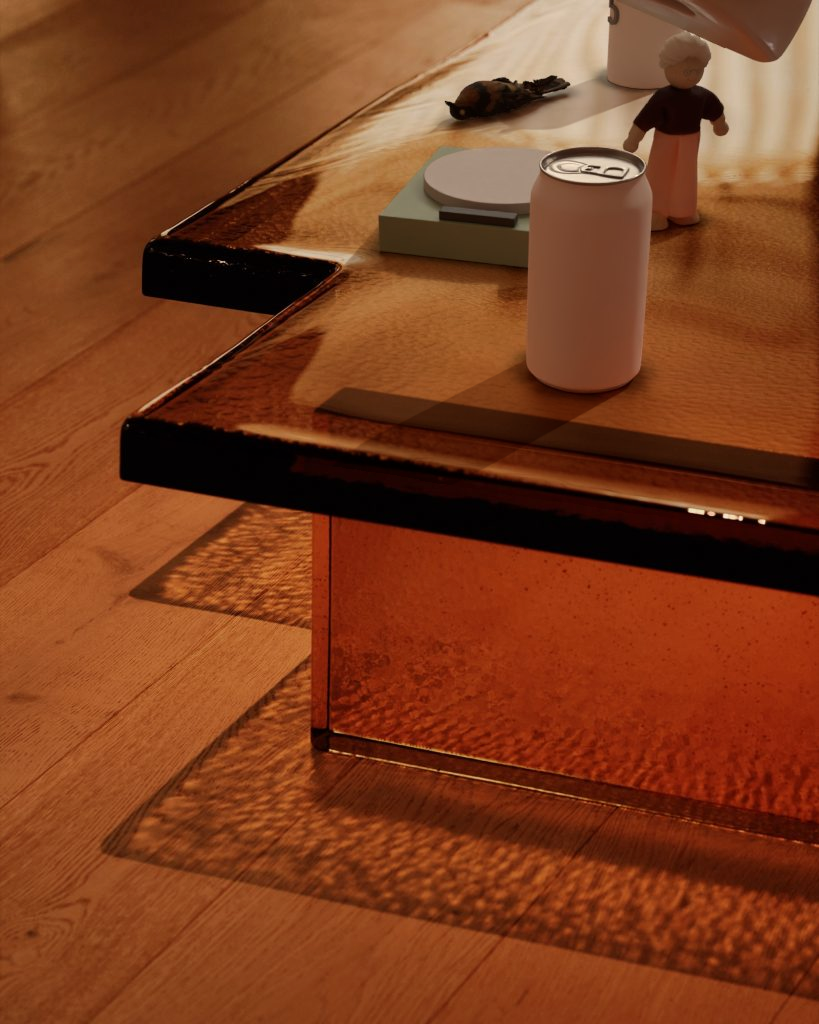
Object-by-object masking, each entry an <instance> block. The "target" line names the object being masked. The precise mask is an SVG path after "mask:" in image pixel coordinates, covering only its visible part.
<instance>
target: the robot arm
mask: <svg viewBox="0 0 819 1024" xmlns="http://www.w3.org/2000/svg"><path fill="white" fill-rule="evenodd" d="M615 1H618V2H620V3H622V4H625V5H627V6H629V7H632V8H634V9H636V10H639V11H641V12H643V13H646V14H648V15H650V16H653V17H655V18H657V19H660V20H662V21H664V22H667V23H669V24H671V25H674V26H676V27H678V28H680V29H683V30H685V31H687V32H689V33H690V34H691V35H697V36H698V37H700V39H702V40H704V41H706V42H707V41H708V42H710V43H711V44H713V45H716V46H718V47H721V48H723V49H727V50H729V51H732V52H734V53H736V54H739V55H741V56H743V57H745V58H748V59H750V60H752V61H755V62H758V63H773V62H775V61H778V60H779V59H780V58H781V57H782V56H783V55H784V54H785V52H786V51H787V49H788V48H789V46H790V45H791V43H792V41H793V39H794V38H795V36H796V34H797V32H798V31H799V30H800V27H801V25H802V24H803V21H804V19H805V18H806V16H807V13H808V11H809V9H810V7H811V4H812V1H813V0H615Z"/></svg>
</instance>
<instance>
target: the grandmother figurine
mask: <svg viewBox="0 0 819 1024" xmlns="http://www.w3.org/2000/svg"><path fill="white" fill-rule="evenodd" d="M659 57H660V62H659V66H660V67H661V68H662V69H664V73H665V77H666V79H667V80H668V82H669V83H670V85H668V86H665V87H663V88H657V90H655V91H654V93H653V94H652V95H651V96H650V97H649V99H648V100H647V101H646V103H645V104H644V106H643V107H642V108H641V110H640V111H639V113H637V115H636V116H635V118H634V119H633V121H632V125H631V127H630V129H629V131H628V135H627V138H626V139H624V141H623V143H622V150H624V151H627V152H630V153H633V154H635V153H636V152H637V151H638V149H639V147H640V142H642V141H643V139H644V138H645V136H646V134H647V133H648V132H649V131H651V130H652V129H654V131H653V135H652V136H653V139H652V143H651V147H650V151H649V154H648V160H647V163H646V165H647V169H646V172H645V175H646V178H647V180H648V183H649V185H650V188H651V191H652V218H651V231H652V232H653V231H654V232H655V231H663V230H666V229H667V228H668V227H669V221H668V220H670V221H671V222H672V223H674V224H676V225H679V226H680V225H682V226H688V225H695V224H697V223H699V222H700V220H701V219H700V215H699V212H697V211H698V207H697V206H698V184H699V183H698V182H699V181H698V176H699V175H698V174H699V173H698V158H699V157H698V156H699V149H700V143H701V136H702V135H701V123H702V120H706V121H708V122H709V123H710V125H712V131H713V133H714V135H715V136H717V137H724V136H726V135H727V134H728V133H729V130H730V126H729V124H728V122H727V121H726V115H725V106H724V103H722V101H721V100H720V98H719V97H718V96H717V95H716V94H715V93H714V92H712V90H710V89H708V88H705V87H703V86H702V85H697V84H699V83H700V82H701V80H702V79H703V76H704V74H705V73H704V72H705V68H707V66H708V65H709V63H710V61H711V59H712V52H711V49H710V47H709V44H708V43H707V40H704V39H702V38H701V37H698V36H697V35H694V34H692V33H690V32H687V31H685V32H682V33H679V34H677V35H673V36H672V37H670V38H669V39H667V40H666V41H665V44H664V45H663V46H662V48H661V50H660V51H659Z"/></svg>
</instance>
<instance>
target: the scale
mask: <svg viewBox="0 0 819 1024" xmlns="http://www.w3.org/2000/svg"><path fill="white" fill-rule="evenodd" d="M552 152H553V151H549V150H544V149H539V148H534V147H533V148H531V147H530V148H529V147H522V146H488V147H487V146H485V147H477V148H476V147H475V148H468V147H458V146H448V145H440V146H439V147H438V148H437V149H436V150H435V152H433V154H432V155H431V156H430V157H429V158H428V160H426V162H425V163H424V164H423V165H422V166H421V167H420V169H419V170H417V171H416V173H415V174H414V175H413V176H412V177H411V179H410V180H409V181H408V182H407V183H406V184H405V185H404V186H403V188H402V189H401V190H400V191H399V192H398V193H397V194H396V195H395V196H394V198H392V200H391V201H390V202H389V203H388V204H387V205H386V206H385V207H384V209H383V210H382V211H381V212H380V213H379V214H378V217H377V218H378V249H379V252H383V253H384V252H385V253H393V254H402V255H411V256H419V257H428V258H438V259H445V260H454V261H455V260H456V261H464V262H473V263H482V264H491V265H499V266H509V267H516V268H517V267H518V268H526V269H528V256H529V221H530V197H531V190H532V187H533V185H534V182H535V181H536V179H537V177H538V175H539V173H540V168H539V163H540V160H541V159H542V158H543V157H544V156H546V155H547V154H549V153H552Z"/></svg>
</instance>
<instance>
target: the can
mask: <svg viewBox="0 0 819 1024" xmlns="http://www.w3.org/2000/svg"><path fill="white" fill-rule="evenodd" d="M551 152H552V153H549V154H547V155H546V156H544V157H543V158H542V159H541V160H540V163H539V168H540V173H539V175H538V177H537V179H536V181H535V182H534V185H533V187H532V190H531V197H530V221H529V256H528V268H527V293H526V294H527V296H526V297H527V298H526V299H527V300H526V338H525V339H526V343H525V345H526V346H525V347H526V348H525V349H526V350H525V358H526V359H525V361H526V367H527V369H528V370H529V372H530V373H531V374H532V375H533V377H534V378H535V379H536V380H537V381H538V382H540V383H541V384H543V385H545V386H547V387H550V388H552V389H555V390H558V391H562V392H565V393H566V392H567V393H574V394H599V393H605V392H610V391H614V390H617V389H620V388H622V387H624V386H626V385H627V384H629V383H630V382H631V381H632V380H633V379H634V378H635V377H636V376H637V375H638V374H639V372H640V370H641V367H642V358H643V346H644V344H643V343H644V332H645V320H646V319H645V318H646V304H647V291H648V277H649V276H648V275H649V262H650V261H649V260H650V247H651V235H652V234H651V233H652V232H651V218H652V191H651V188H650V185H649V183H648V180H647V178H646V175H645V172H646V169H647V162H646V160H644V159H643V158H642V157H641V156H639V155H637V154H635V153H630V152H627V151H625V150H624V149H620V148H614V147H607V146H594V145H593V146H592V145H591V146H589V145H588V146H587V145H586V146H574V147H566V148H561V149H558V150H554V151H551Z"/></svg>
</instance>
